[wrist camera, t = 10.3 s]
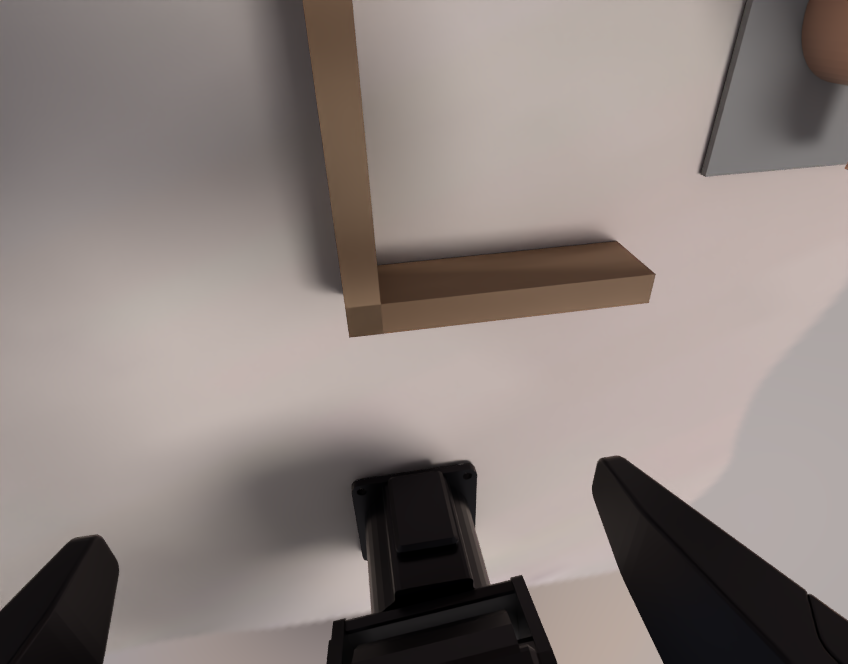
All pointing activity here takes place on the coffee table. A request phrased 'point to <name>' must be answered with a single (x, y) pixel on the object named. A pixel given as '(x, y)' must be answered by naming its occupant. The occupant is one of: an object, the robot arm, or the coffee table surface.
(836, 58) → the popsicle on stick
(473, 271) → the holder
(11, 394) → the coffee table surface
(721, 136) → the mat
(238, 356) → the coffee table surface
